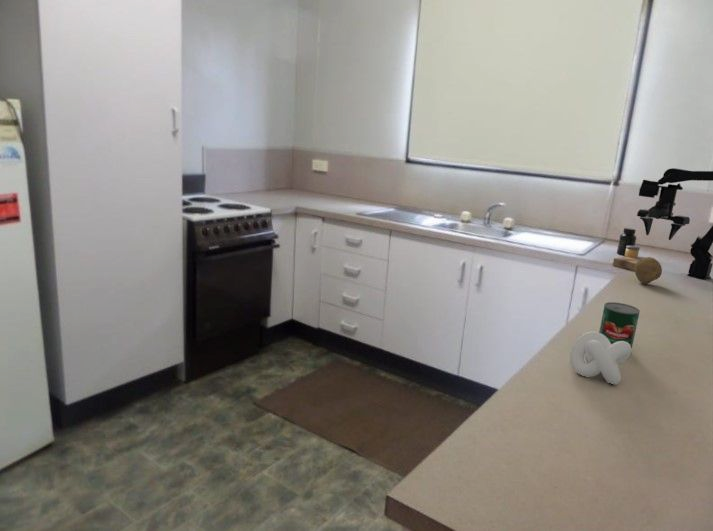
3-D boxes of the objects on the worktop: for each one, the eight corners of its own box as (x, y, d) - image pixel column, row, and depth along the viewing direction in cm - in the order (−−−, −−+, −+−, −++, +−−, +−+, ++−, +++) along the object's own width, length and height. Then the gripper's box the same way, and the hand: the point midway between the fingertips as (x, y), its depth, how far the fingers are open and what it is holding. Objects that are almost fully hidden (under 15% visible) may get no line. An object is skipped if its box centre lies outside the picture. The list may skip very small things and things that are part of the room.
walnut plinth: (648, 269, 226) (650, 262, 226) (635, 271, 221) (637, 264, 220) (625, 263, 234) (627, 256, 233) (612, 265, 229) (614, 258, 228)
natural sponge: (644, 279, 209) (649, 254, 206) (664, 286, 201) (670, 260, 198) (626, 280, 205) (631, 254, 203) (646, 287, 197) (652, 260, 195)
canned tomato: (621, 344, 140) (629, 303, 137) (637, 357, 132) (646, 313, 130) (590, 342, 140) (598, 301, 137) (605, 355, 132) (614, 311, 129)
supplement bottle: (634, 257, 249) (640, 231, 246) (618, 255, 250) (623, 229, 247) (630, 253, 256) (635, 228, 253) (614, 252, 257) (619, 226, 254)
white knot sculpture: (635, 394, 113) (645, 353, 111) (574, 385, 115) (582, 345, 112) (620, 371, 124) (628, 333, 121) (564, 363, 125) (571, 326, 123)
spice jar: (638, 264, 235) (642, 247, 234) (632, 265, 232) (635, 248, 231) (627, 261, 239) (630, 244, 238) (620, 262, 237) (623, 245, 235)
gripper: (633, 196, 225) (625, 233, 229) (680, 203, 210) (671, 243, 214) (648, 196, 231) (640, 232, 235) (694, 203, 217) (685, 242, 221)
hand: (658, 237), depth 226 cm, fingers open, 9 cm apart
